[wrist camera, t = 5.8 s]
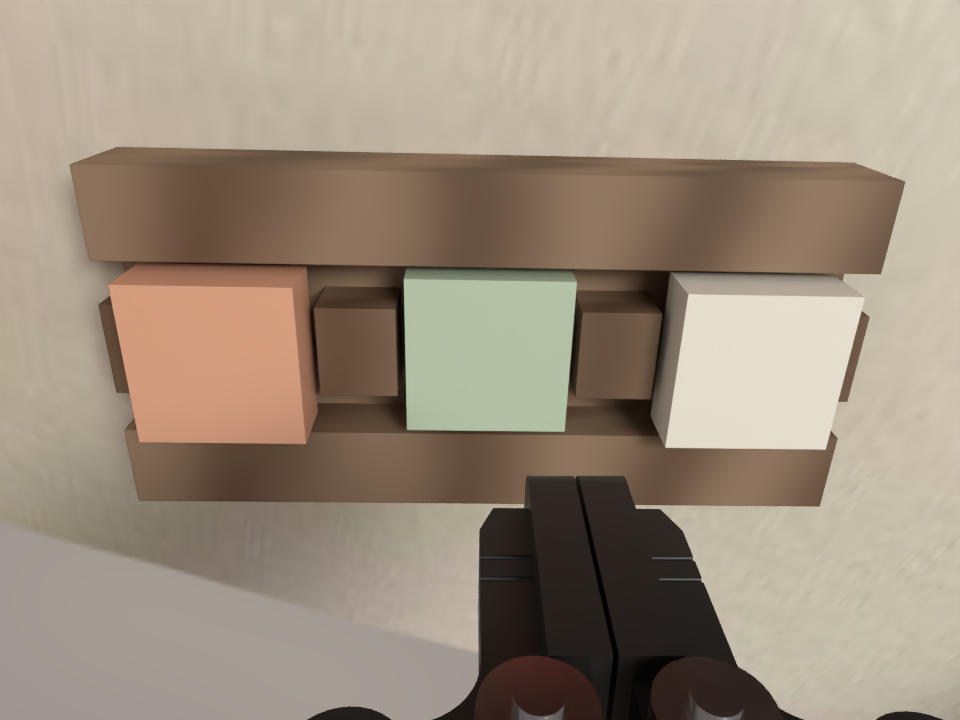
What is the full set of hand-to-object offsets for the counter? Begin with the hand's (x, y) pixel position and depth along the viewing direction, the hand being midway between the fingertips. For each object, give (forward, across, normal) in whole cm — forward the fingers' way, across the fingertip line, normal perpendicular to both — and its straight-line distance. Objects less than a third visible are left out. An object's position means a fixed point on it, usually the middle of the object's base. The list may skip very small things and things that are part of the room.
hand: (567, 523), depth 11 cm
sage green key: (+13, +1, +2) cm, 13 cm away
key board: (+14, +1, +2) cm, 14 cm away
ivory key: (+12, -7, +2) cm, 14 cm away
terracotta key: (+12, +9, +2) cm, 15 cm away
